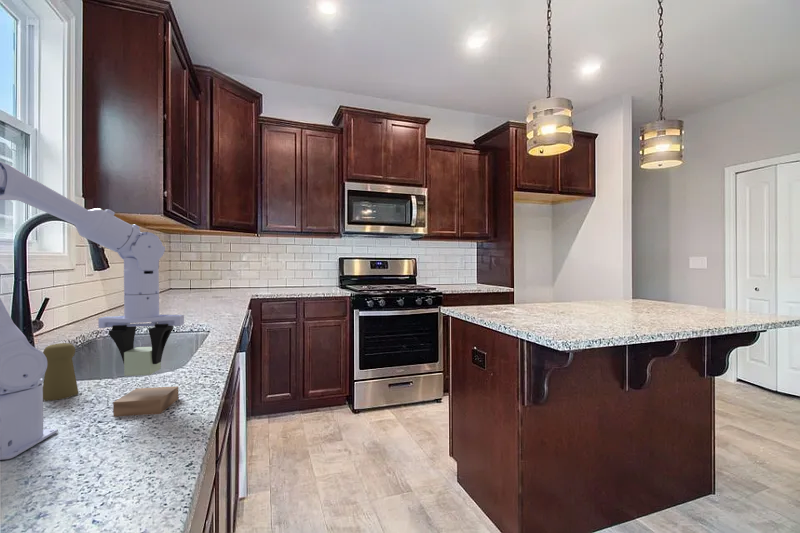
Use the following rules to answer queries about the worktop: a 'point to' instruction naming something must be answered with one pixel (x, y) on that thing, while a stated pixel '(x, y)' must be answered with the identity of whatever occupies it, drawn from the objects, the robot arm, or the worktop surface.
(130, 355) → the sage cube
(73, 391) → the cork
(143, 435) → the worktop surface
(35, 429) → the robot arm
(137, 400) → the walnut block
